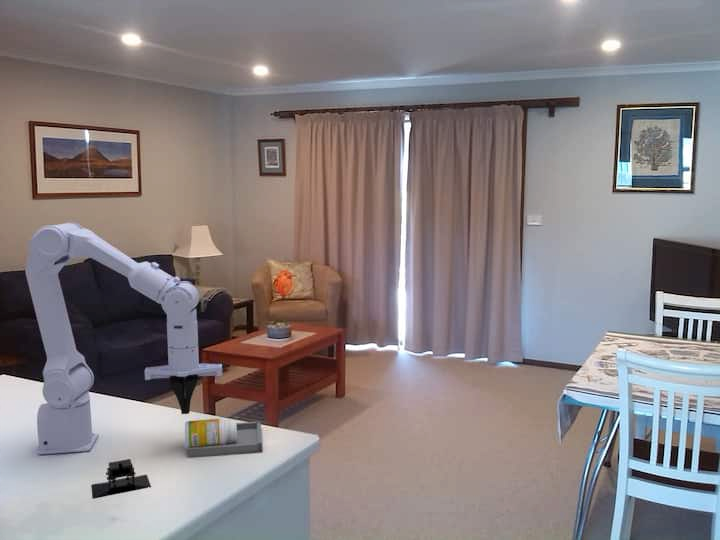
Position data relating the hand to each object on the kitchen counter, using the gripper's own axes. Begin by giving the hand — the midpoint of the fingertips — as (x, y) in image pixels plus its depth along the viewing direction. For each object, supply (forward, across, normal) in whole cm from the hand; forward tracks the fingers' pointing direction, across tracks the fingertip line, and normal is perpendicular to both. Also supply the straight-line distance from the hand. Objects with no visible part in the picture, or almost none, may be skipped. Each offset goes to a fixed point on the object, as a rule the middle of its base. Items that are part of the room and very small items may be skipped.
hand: (185, 412), depth 130 cm
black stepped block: (+8, -10, -16) cm, 20 cm away
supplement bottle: (+4, 0, -3) cm, 5 cm away
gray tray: (+7, +8, 0) cm, 10 cm away
